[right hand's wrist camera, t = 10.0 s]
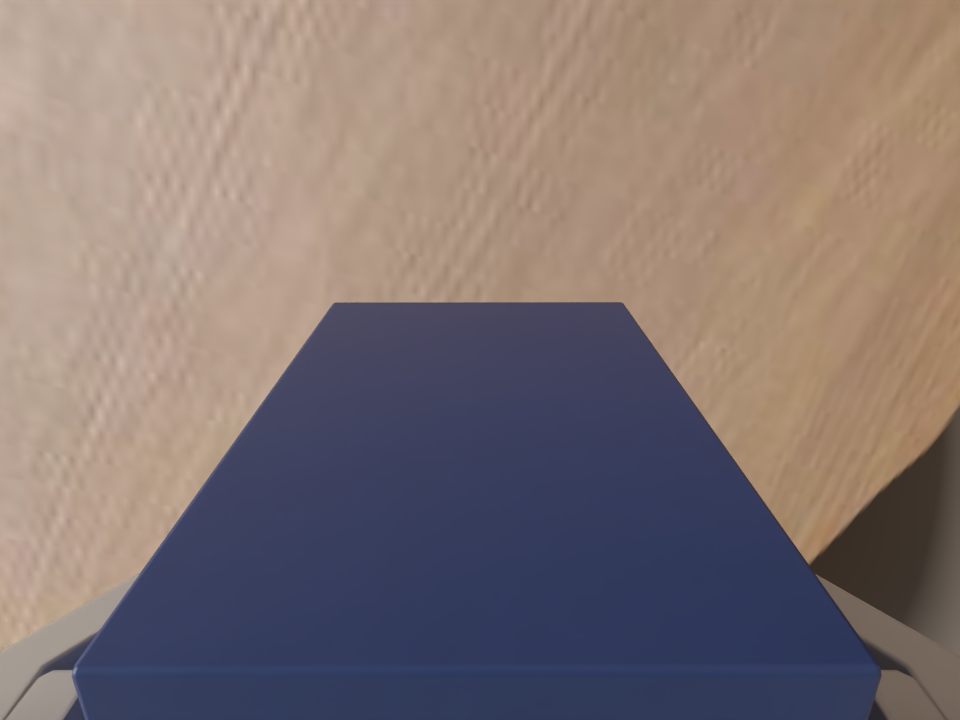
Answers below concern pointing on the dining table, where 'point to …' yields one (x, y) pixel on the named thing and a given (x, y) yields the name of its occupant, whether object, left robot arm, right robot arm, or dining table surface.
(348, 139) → the dining table surface
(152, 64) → the dining table surface
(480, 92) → the dining table surface
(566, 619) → the box
